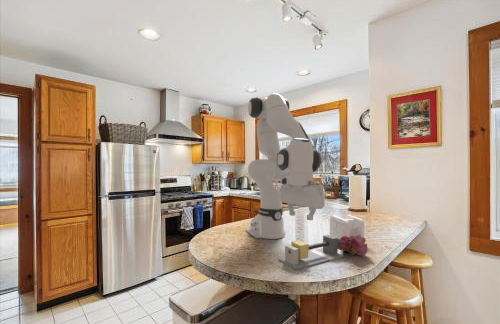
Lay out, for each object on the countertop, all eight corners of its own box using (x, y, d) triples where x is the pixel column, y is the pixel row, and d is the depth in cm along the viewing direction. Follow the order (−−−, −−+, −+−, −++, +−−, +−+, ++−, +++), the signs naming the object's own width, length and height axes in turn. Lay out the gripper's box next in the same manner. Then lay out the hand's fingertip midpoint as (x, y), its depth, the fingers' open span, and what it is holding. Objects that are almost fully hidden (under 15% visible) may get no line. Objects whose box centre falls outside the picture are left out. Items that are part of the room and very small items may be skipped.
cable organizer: (365, 245, 111) (366, 220, 111) (345, 246, 109) (345, 221, 109) (346, 236, 126) (347, 213, 126) (328, 237, 124) (328, 214, 124)
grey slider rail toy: (278, 260, 92) (278, 241, 92) (323, 249, 105) (324, 233, 105) (296, 270, 83) (297, 249, 83) (343, 256, 96) (343, 239, 96)
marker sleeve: (291, 255, 92) (291, 241, 92) (298, 253, 94) (299, 240, 94) (300, 259, 87) (300, 245, 88) (308, 257, 90) (308, 244, 90)
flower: (340, 257, 104) (348, 236, 108) (362, 267, 97) (371, 244, 100) (329, 247, 98) (338, 225, 101) (353, 256, 91) (362, 232, 94)
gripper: (328, 181, 84) (328, 222, 83) (289, 179, 101) (289, 212, 101) (316, 182, 81) (315, 224, 80) (277, 179, 98) (277, 213, 97)
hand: (300, 217), depth 91 cm, fingers open, 8 cm apart
